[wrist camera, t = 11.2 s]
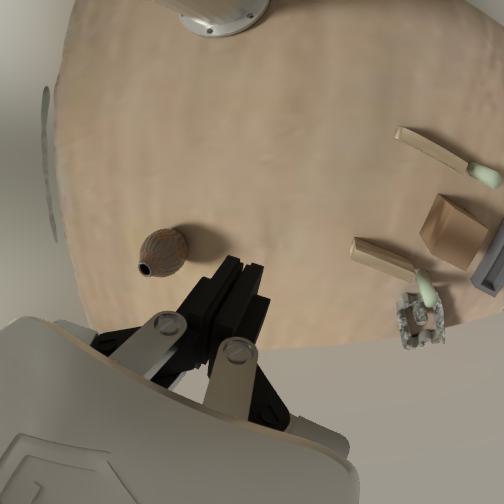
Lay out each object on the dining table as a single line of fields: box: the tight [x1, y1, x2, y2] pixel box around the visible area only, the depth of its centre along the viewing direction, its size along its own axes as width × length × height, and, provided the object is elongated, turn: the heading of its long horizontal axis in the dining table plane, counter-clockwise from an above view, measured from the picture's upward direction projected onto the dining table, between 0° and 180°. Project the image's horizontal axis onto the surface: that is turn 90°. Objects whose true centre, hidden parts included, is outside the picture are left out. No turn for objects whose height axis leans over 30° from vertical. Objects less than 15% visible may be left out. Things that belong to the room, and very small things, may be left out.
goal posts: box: [416, 162, 501, 307], centre depth 26 cm, size 19×2×6 cm, turn 166°
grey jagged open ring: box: [396, 291, 445, 350], centre depth 34 cm, size 11×8×4 cm
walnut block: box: [419, 194, 488, 271], centre depth 26 cm, size 6×6×6 cm
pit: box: [470, 218, 504, 297], centre depth 26 cm, size 12×6×2 cm, turn 166°
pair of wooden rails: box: [350, 127, 468, 283], centre depth 28 cm, size 17×9×4 cm, turn 166°
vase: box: [138, 229, 188, 277], centre depth 39 cm, size 7×7×9 cm
